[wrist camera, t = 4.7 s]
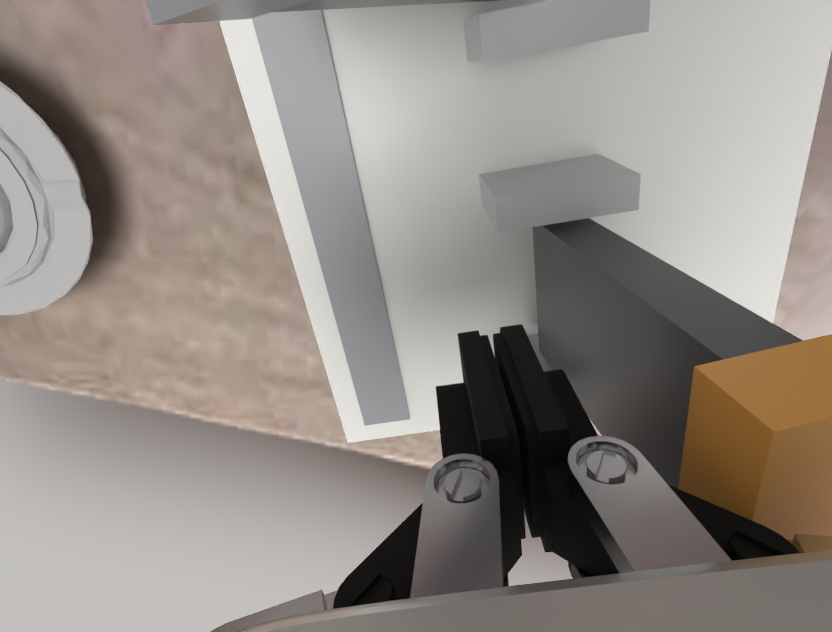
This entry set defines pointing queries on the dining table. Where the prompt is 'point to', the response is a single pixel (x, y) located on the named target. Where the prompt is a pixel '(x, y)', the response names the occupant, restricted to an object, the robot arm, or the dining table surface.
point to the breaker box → (518, 162)
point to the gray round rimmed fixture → (38, 212)
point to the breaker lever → (689, 377)
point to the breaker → (258, 8)
